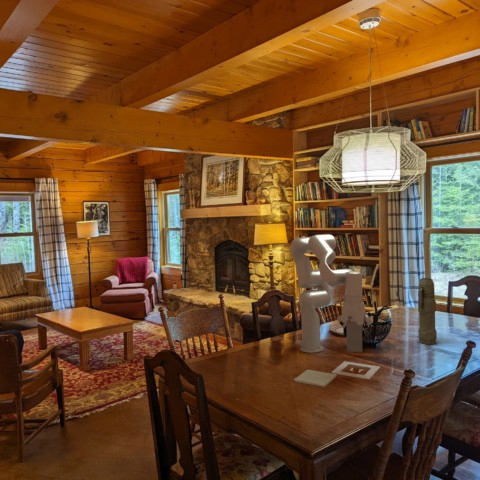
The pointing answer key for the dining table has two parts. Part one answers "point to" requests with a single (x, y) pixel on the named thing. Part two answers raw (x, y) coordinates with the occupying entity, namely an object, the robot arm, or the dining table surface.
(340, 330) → the dinner plate
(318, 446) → the dining table surface
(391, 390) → the dining table surface
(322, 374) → the sage coaster
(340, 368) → the frame
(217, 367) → the dining table surface
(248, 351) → the dining table surface
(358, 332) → the perfume bottle
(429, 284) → the thermos
